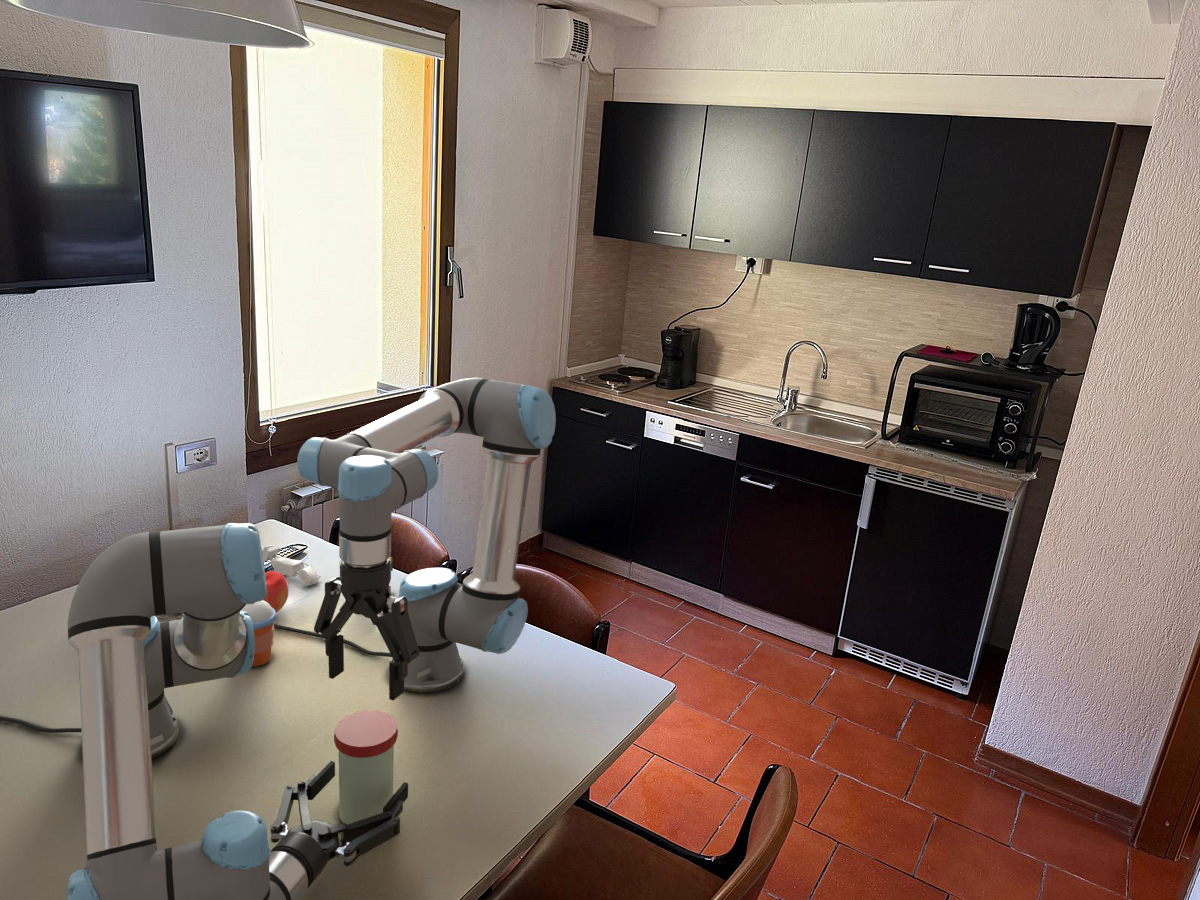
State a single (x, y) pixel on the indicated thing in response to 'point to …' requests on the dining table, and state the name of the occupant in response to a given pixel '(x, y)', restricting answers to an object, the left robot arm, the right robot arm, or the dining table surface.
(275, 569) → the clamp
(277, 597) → the apple
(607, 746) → the dining table surface
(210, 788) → the dining table surface
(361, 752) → the lid
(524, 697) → the dining table surface
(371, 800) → the jar
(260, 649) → the cup with straw
